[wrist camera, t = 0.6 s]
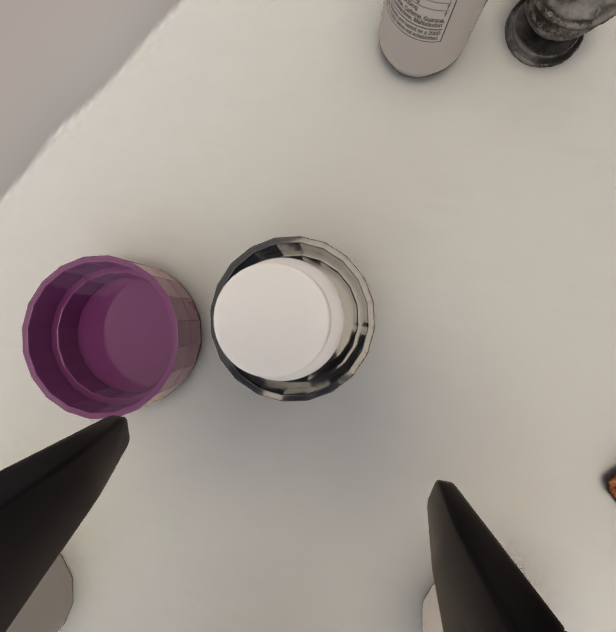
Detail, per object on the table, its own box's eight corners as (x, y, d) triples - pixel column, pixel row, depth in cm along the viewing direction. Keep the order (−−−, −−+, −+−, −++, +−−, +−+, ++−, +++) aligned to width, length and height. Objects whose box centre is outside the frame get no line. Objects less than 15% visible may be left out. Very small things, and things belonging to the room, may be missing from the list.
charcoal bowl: (287, 414, 25) (278, 434, 20) (204, 307, 25) (178, 306, 21) (394, 329, 24) (408, 332, 20) (308, 222, 24) (304, 203, 20)
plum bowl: (124, 430, 25) (86, 451, 21) (44, 323, 26) (-9, 324, 22) (229, 345, 25) (210, 350, 21) (145, 237, 25) (111, 222, 21)
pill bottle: (239, 327, 24) (163, 336, 13) (288, 260, 24) (253, 210, 13) (306, 377, 24) (285, 429, 13) (356, 309, 24) (379, 302, 13)
